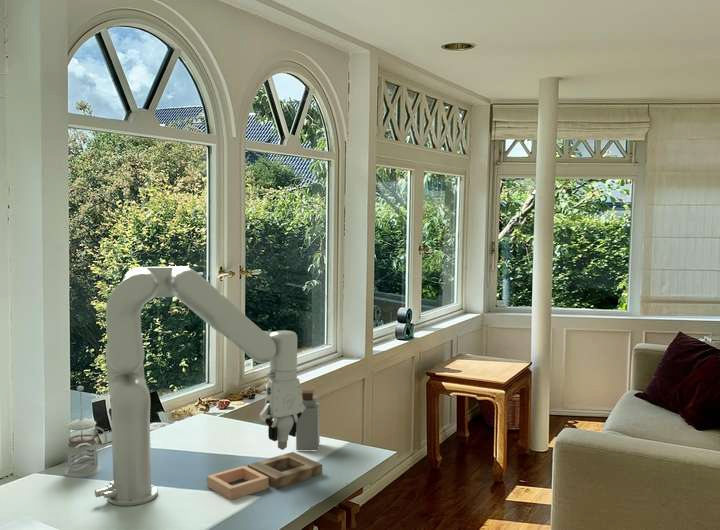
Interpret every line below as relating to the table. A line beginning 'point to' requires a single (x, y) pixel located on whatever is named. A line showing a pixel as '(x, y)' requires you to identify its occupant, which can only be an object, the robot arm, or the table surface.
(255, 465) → the walnut holder
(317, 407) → the perfume bottle
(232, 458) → the table surface
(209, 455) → the table surface
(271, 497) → the table surface
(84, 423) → the french press
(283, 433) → the lightbulb
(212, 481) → the terracotta stand
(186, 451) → the table surface
